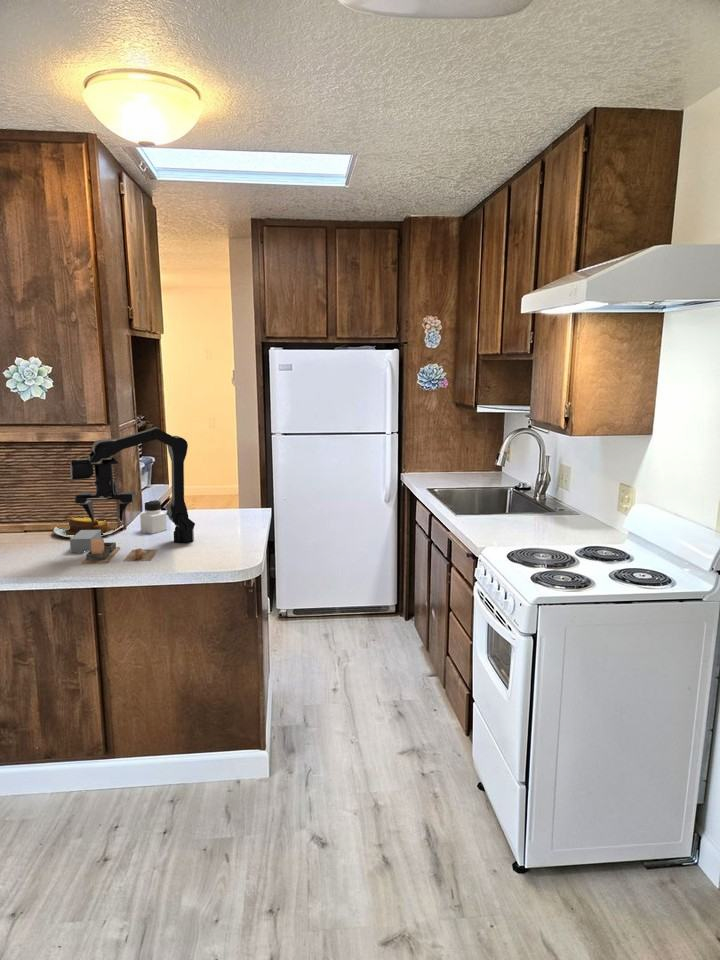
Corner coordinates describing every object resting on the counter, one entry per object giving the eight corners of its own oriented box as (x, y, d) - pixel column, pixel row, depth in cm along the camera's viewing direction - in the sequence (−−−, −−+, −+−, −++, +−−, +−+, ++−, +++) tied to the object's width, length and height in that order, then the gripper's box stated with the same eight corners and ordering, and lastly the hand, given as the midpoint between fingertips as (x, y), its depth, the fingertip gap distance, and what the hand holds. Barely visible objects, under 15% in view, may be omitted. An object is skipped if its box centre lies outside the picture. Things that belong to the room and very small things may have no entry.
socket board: (120, 551, 221) (119, 541, 221) (107, 565, 206) (106, 555, 205) (96, 551, 221) (96, 541, 220) (82, 565, 205) (81, 555, 204)
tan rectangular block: (104, 555, 211) (103, 538, 210) (102, 558, 208) (100, 541, 207) (94, 556, 210) (93, 538, 209) (92, 559, 207) (90, 541, 206)
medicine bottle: (167, 530, 250) (165, 500, 247) (152, 534, 244) (151, 503, 241) (155, 527, 253) (153, 498, 251) (140, 531, 247) (139, 501, 245)
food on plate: (133, 524, 258) (132, 509, 257) (108, 542, 234) (107, 525, 232) (72, 523, 258) (71, 508, 257) (41, 540, 234) (39, 523, 233)
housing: (101, 542, 231) (100, 529, 230) (91, 552, 219) (90, 538, 218) (81, 543, 230) (80, 530, 229) (70, 552, 219) (69, 539, 218)
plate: (158, 551, 222) (158, 541, 221) (150, 562, 209) (150, 552, 208) (132, 551, 221) (131, 541, 220) (123, 563, 208) (122, 552, 207)
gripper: (137, 472, 222) (140, 515, 225) (82, 473, 220) (86, 516, 223) (130, 478, 212) (133, 523, 214) (72, 479, 209) (76, 524, 212)
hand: (107, 521), depth 216 cm, fingers open, 9 cm apart
